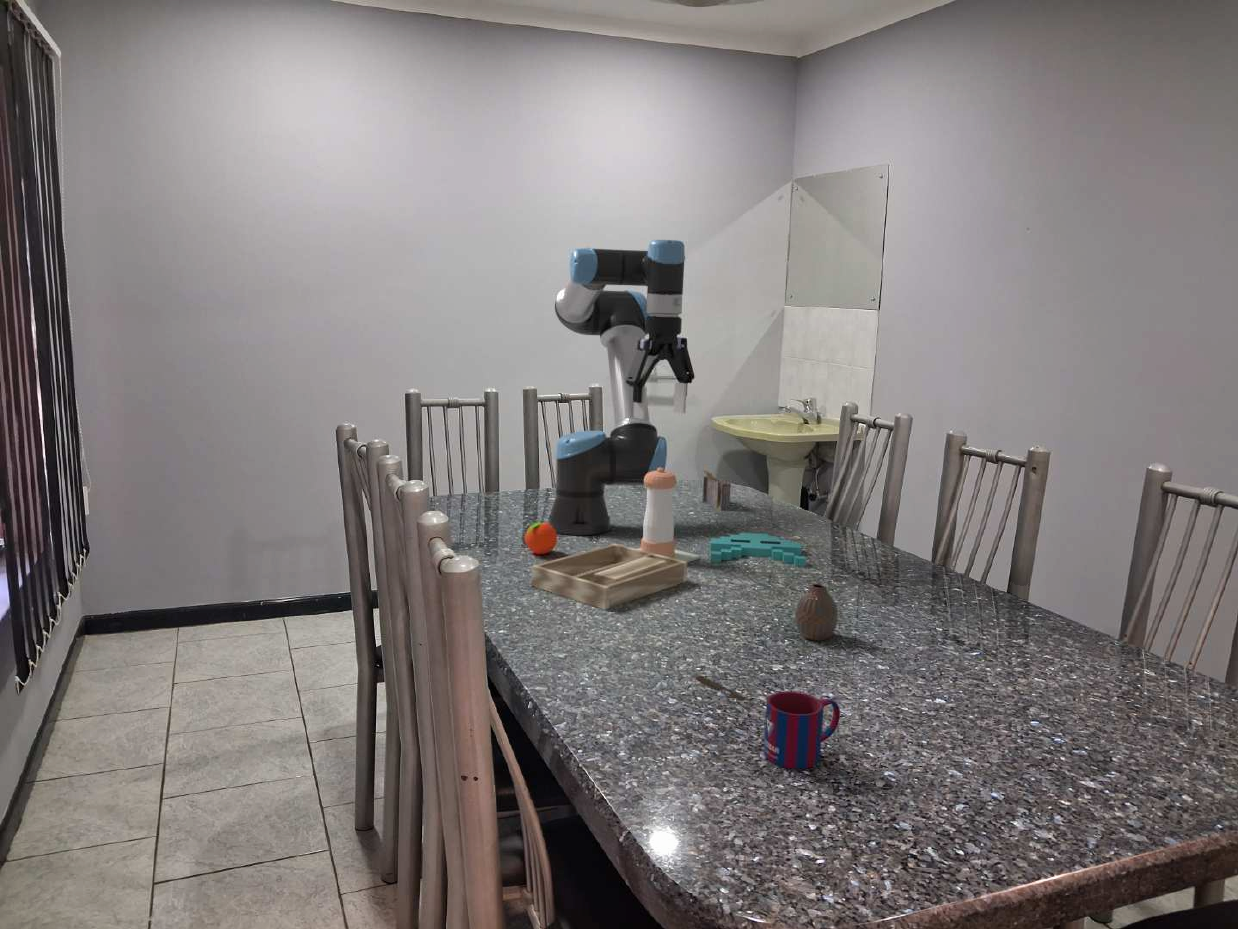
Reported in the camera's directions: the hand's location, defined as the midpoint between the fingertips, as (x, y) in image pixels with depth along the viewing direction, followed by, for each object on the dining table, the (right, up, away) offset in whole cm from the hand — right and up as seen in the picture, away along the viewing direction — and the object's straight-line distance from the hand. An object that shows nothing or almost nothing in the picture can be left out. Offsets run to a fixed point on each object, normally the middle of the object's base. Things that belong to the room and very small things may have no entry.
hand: (660, 415), depth 194 cm
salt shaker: (0, -30, 0) cm, 30 cm away
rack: (-11, -34, -19) cm, 40 cm away
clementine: (-26, -30, +1) cm, 40 cm away
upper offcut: (-7, -33, -23) cm, 40 cm away
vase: (+24, -39, -44) cm, 64 cm away
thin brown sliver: (+6, -43, -66) cm, 79 cm away
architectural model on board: (+18, -23, +53) cm, 61 cm away
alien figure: (+22, -31, +7) cm, 38 cm away
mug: (+14, -46, -84) cm, 97 cm away
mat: (0, -31, 0) cm, 31 cm away
